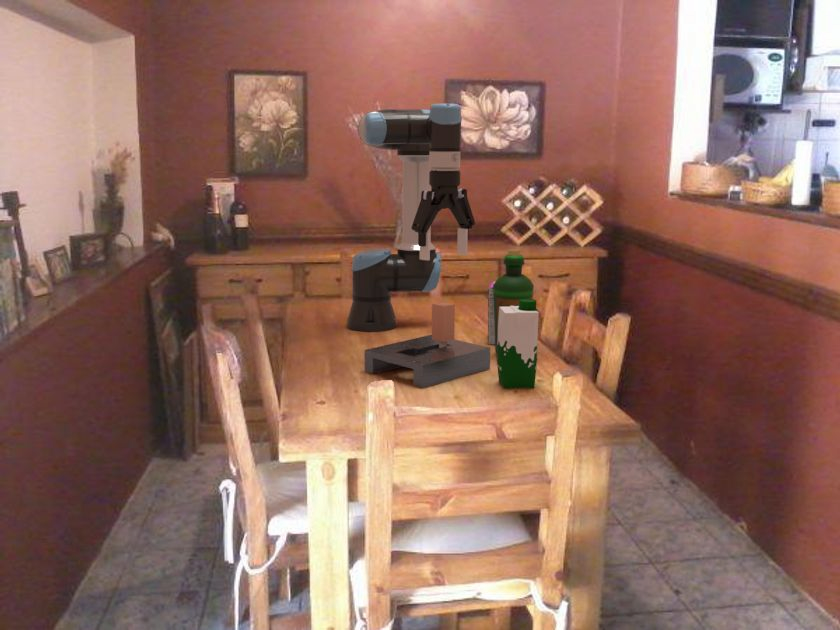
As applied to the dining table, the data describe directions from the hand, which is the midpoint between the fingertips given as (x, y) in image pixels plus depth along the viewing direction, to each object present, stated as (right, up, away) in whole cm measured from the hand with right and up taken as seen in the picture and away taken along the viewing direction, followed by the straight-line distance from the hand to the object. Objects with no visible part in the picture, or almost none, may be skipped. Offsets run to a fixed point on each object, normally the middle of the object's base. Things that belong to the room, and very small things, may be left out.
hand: (443, 257), depth 207 cm
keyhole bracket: (-4, -28, +2) cm, 28 cm away
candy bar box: (+16, -22, +33) cm, 43 cm away
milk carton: (+17, -31, -10) cm, 36 cm away
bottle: (+19, -25, +17) cm, 36 cm away
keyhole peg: (0, -27, +6) cm, 28 cm away
